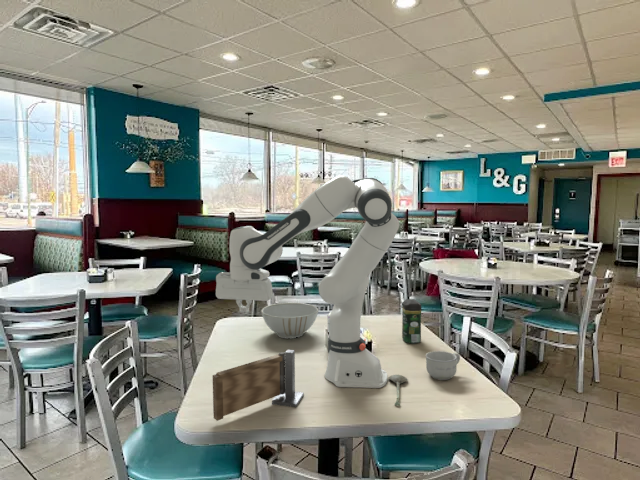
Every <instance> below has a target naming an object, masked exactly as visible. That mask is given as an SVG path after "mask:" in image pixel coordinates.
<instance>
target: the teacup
mask: <svg viewBox="0 0 640 480" xmlns="http://www.w3.org/2000/svg"><path fill="white" fill-rule="evenodd" d="M460 360H461V356H460V354H459V353H457V352H453V353H452V352H449V351H445V350H437V351H436V350H435V351H430V352H426V354H425V364H426V365H425V366H426V371H427V374H428V375H430V376H431V378H433V379H434V380H439V381H446V380H451V379H452V377H455V375H456V373H457V366H458V364H459V363H460Z"/></svg>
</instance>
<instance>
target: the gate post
mask: <svg viewBox="0 0 640 480" xmlns="http://www.w3.org/2000/svg"><path fill="white" fill-rule="evenodd" d="M295 351H296V350H294V349H287V350H286V351H285V352H284V353H285V394H280V395H278V396H276V397H273V398H272V401H271V405H275V406H276V405H277V406H285V407H290V406H291V408H297V407H298V405H299V404H300V402H301V400H302V399H303V398H304V396H305V394H304V392H301V391H296V371H295V370H296V368H295V367H296V364H295V363H296V360H295V359H296V358H295V357H296V355H295V353H296V352H295Z"/></svg>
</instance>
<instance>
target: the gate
mask: <svg viewBox="0 0 640 480" xmlns="http://www.w3.org/2000/svg"><path fill="white" fill-rule="evenodd" d="M215 373H216V374H213V375H212V401H213V402H212V403H213V405H212V406H213V409H212V410H213V419H214V420H215V421H216V422H217V421H221V420H224V417H225V416H228V415H230V414H233V413H235V412H238V411H241V410H243V409H246V408H249V407H252V406H254V405H258V404H259V403H263V402H265V401H267V400H269V399H274V398H275V397H276V396H278V395H280V394H285V352H283V351H282V352H278V354H275V355H272V356H268V357H265V358H261V359H258V360H254V361H252V362H248V363H245V364H241V365H238V366H235V367H231V368H228V369H224V370H220V371H218V372H215Z"/></svg>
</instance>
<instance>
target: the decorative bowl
mask: <svg viewBox="0 0 640 480" xmlns="http://www.w3.org/2000/svg"><path fill="white" fill-rule="evenodd" d="M260 311H261V316H262V318H263V320H264V322H265V324H266V325H267V327H268V328H269V329H270V330H271V331H272V332H273V333H274V334H276V335H277V337H279V338H282V339H288V338H290V339H296V337H298V338H300V336H301V337H302V336H304V333H305V332H307V331H308V330H309V329H310V328H311V327H313V325H314V323H315V321H316V320H317V317H318V314H319V308H318V307H317V306H316V305H313V304H311V303H310V304H308V303H303V302H279V303H274V304H270V305H267V306H264V307H262V308H261V310H260Z"/></svg>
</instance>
